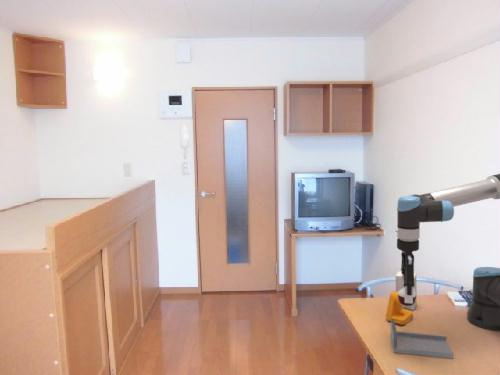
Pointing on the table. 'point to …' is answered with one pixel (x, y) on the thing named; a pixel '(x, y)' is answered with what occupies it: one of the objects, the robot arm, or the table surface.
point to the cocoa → (402, 295)
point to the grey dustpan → (419, 344)
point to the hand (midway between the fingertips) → (406, 296)
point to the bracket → (397, 310)
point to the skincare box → (398, 288)
